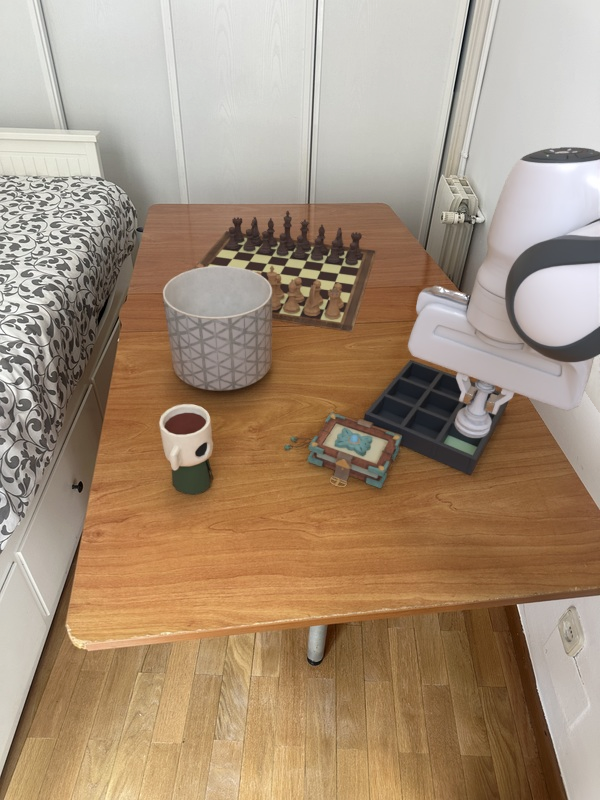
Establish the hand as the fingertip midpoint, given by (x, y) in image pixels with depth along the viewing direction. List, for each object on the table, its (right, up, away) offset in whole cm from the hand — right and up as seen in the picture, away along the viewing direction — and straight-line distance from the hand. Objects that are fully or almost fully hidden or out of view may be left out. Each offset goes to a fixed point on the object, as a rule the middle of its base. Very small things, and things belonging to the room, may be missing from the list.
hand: (478, 405), depth 67 cm
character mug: (-39, -12, +17) cm, 44 cm away
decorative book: (-16, -9, +23) cm, 29 cm away
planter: (-37, +6, +39) cm, 54 cm away
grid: (+2, -3, +31) cm, 31 cm away
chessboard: (-27, +33, +73) cm, 85 cm away
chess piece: (0, -3, +2) cm, 4 cm away
